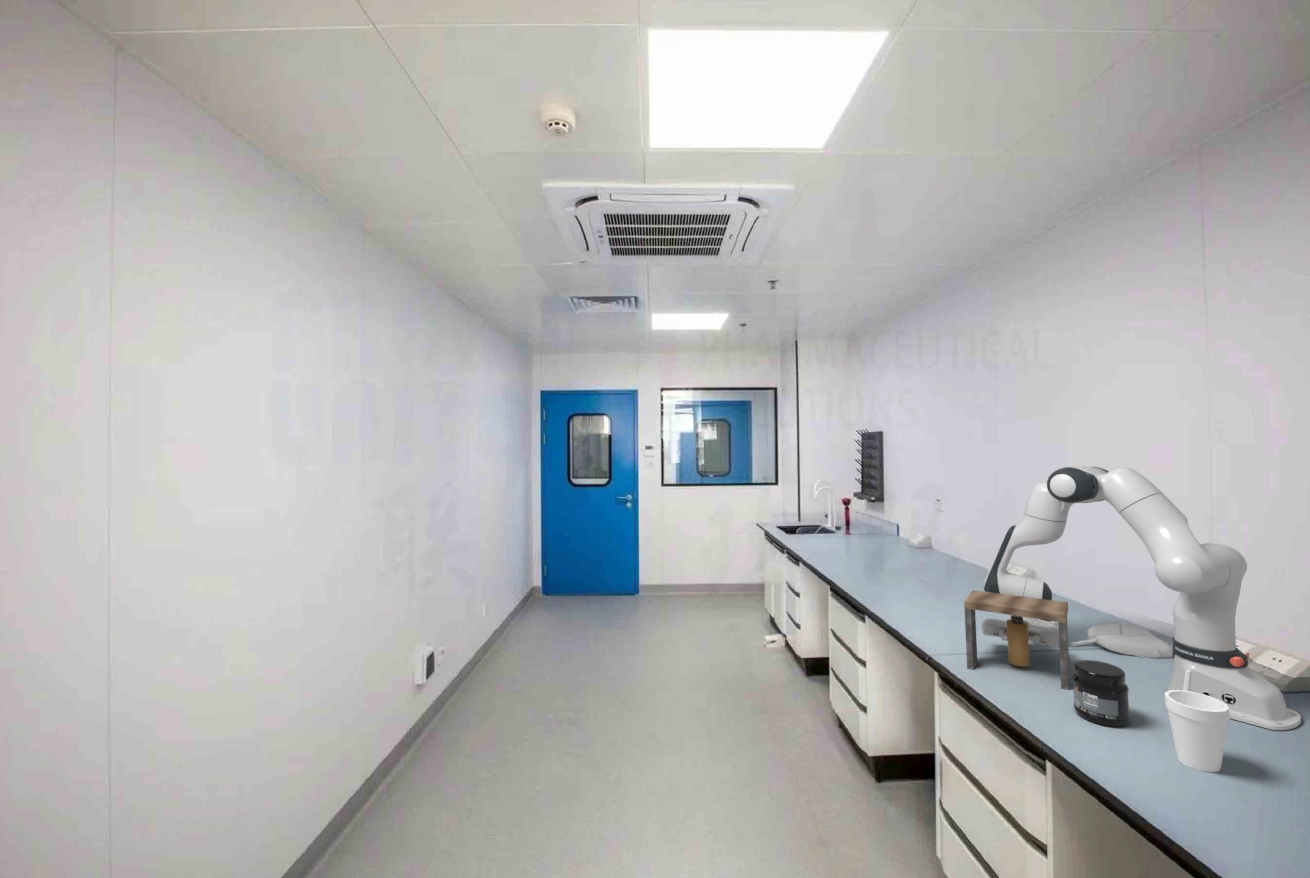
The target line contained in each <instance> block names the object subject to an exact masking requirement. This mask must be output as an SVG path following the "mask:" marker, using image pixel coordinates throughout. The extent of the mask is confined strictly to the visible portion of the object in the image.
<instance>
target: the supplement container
mask: <svg viewBox="0 0 1310 878" xmlns="http://www.w3.org/2000/svg"><path fill="white" fill-rule="evenodd" d="M1074 672H1075V673H1074V674H1073V675H1072V682H1073V703H1074V704H1073V708H1074V710H1075V712H1076V714H1077V715H1079V716H1080V717H1081V718H1082V719H1085V720H1087V721H1088V722H1091V723H1095V724H1097V725H1101V726H1107V727H1123V726H1126V725H1127V724H1129V723H1130V720H1131V719H1130V706H1129V702H1130V701H1129V691H1130V689H1129V686H1128V684H1127V683H1126V672H1125V671H1124V670H1123V669H1121V668H1120V667H1119V666H1116V665H1114V664H1111V663H1107V662H1102V661H1098V660H1090V659H1089V660H1088V659H1087V660H1086V659H1085V660H1077V661H1076V662H1074Z"/></svg>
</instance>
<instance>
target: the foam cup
mask: <svg viewBox="0 0 1310 878" xmlns="http://www.w3.org/2000/svg"><path fill="white" fill-rule="evenodd" d="M1164 705H1165V708H1166V709H1167V713H1168V719H1169V723H1170V728H1171V733H1172V737H1173V742H1174V748H1175V752H1176V755H1177V759H1178V761H1179V762H1181V763H1182V764H1183V765H1185V766H1188V767H1189V768H1192V769H1194V770H1199V771H1201V772H1208V773H1218V772H1220V771H1221V768H1222V766H1223V765H1222V764H1223V758H1224V751H1225V744H1226V738H1227V730H1228V726H1229V725H1228V723H1229V721H1231V718H1230V716H1229V708H1228V706H1227V704H1225V703H1223V702H1222V701H1220V700H1218V699H1216V698H1213V697H1210V696H1207V695H1204V694H1200V693H1196V692H1191V691H1183V690H1169V691H1168V690H1167V691H1166V692H1164Z"/></svg>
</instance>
